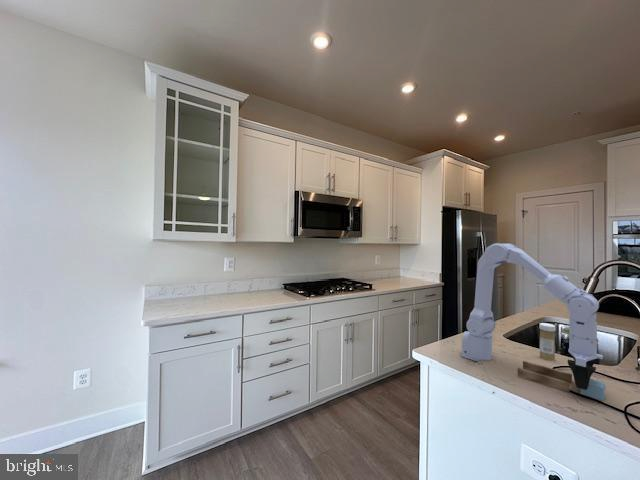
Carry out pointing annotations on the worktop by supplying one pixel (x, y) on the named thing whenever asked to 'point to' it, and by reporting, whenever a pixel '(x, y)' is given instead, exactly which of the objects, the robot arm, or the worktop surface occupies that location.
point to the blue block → (595, 390)
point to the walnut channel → (546, 376)
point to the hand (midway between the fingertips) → (582, 383)
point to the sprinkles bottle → (547, 341)
